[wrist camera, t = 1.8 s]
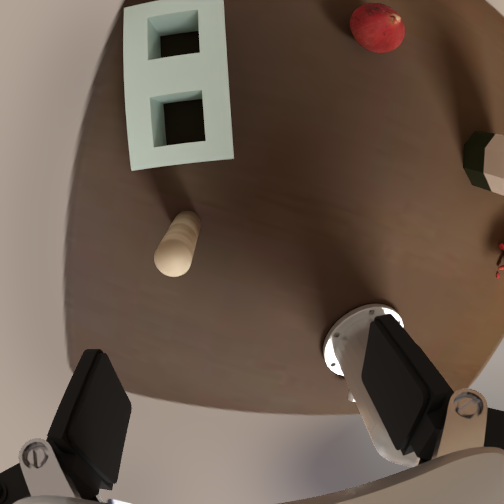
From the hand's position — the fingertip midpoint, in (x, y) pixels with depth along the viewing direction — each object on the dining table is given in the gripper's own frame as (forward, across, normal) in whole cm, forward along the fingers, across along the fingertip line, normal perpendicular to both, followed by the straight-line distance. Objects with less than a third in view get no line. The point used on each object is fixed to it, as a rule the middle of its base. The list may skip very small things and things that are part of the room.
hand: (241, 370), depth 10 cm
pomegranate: (+25, -17, -18) cm, 35 cm away
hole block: (+25, +3, -13) cm, 28 cm away
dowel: (+24, +4, +2) cm, 25 cm away
